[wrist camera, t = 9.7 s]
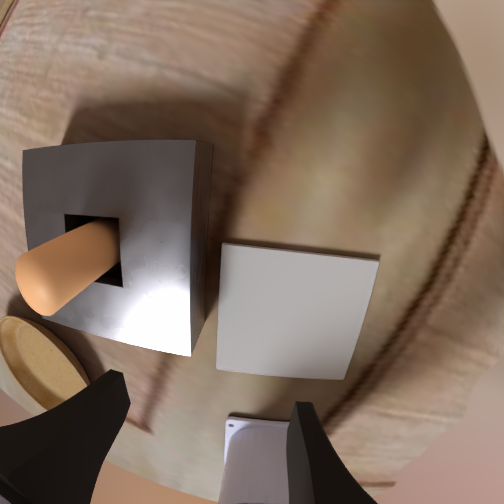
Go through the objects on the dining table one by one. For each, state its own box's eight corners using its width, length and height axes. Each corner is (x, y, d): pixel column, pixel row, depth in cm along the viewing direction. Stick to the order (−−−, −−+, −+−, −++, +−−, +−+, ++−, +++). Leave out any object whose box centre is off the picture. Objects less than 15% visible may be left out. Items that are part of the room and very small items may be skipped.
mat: (342, 376, 21) (343, 379, 20) (217, 365, 21) (216, 368, 21) (377, 259, 18) (379, 261, 17) (223, 242, 18) (221, 244, 18)
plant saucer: (31, 387, 27) (22, 398, 25) (-4, 292, 22) (-19, 302, 20) (119, 424, 26) (111, 440, 24) (88, 322, 22) (73, 338, 19)
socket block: (204, 322, 20) (190, 356, 16) (70, 295, 21) (42, 318, 17) (213, 143, 16) (195, 140, 12) (59, 147, 17) (22, 150, 13)
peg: (144, 254, 19) (66, 321, 10) (108, 251, 19) (24, 310, 10) (141, 210, 18) (51, 255, 9) (104, 210, 18) (10, 250, 10)
